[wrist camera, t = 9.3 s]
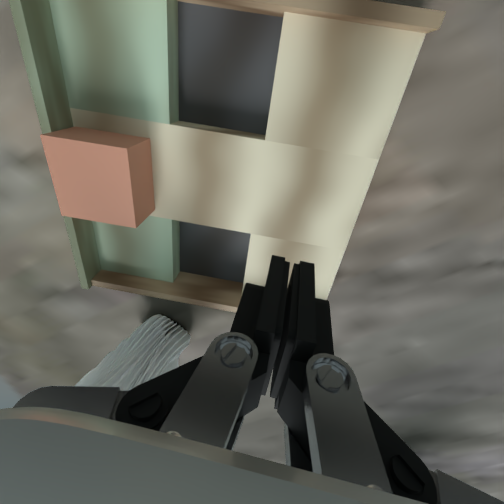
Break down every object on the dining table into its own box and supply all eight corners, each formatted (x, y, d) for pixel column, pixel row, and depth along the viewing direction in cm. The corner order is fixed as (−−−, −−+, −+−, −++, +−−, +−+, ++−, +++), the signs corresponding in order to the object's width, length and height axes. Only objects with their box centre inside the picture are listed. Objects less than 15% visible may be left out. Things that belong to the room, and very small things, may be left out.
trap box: (416, 23, 15) (451, 9, 12) (318, 300, 26) (322, 333, 23) (57, -31, 16) (-7, -60, 12) (108, 261, 27) (81, 288, 23)
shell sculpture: (150, 286, 28) (-23, 542, 13) (215, 332, 30) (136, 594, 15) (113, 325, 31) (-54, 558, 16) (173, 363, 34) (76, 597, 19)
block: (150, 138, 18) (126, 148, 16) (155, 209, 21) (135, 228, 18) (75, 126, 18) (40, 134, 16) (89, 198, 21) (61, 215, 18)
